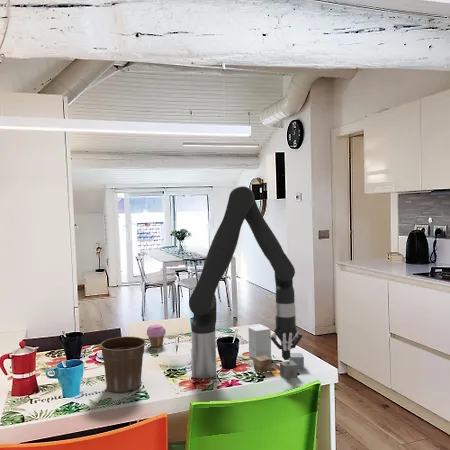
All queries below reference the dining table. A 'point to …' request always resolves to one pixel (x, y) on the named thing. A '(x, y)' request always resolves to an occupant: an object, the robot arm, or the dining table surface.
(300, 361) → the slate block
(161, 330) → the cupcake
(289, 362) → the dice cube
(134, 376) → the plant pot
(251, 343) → the supplement box
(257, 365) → the walnut block
